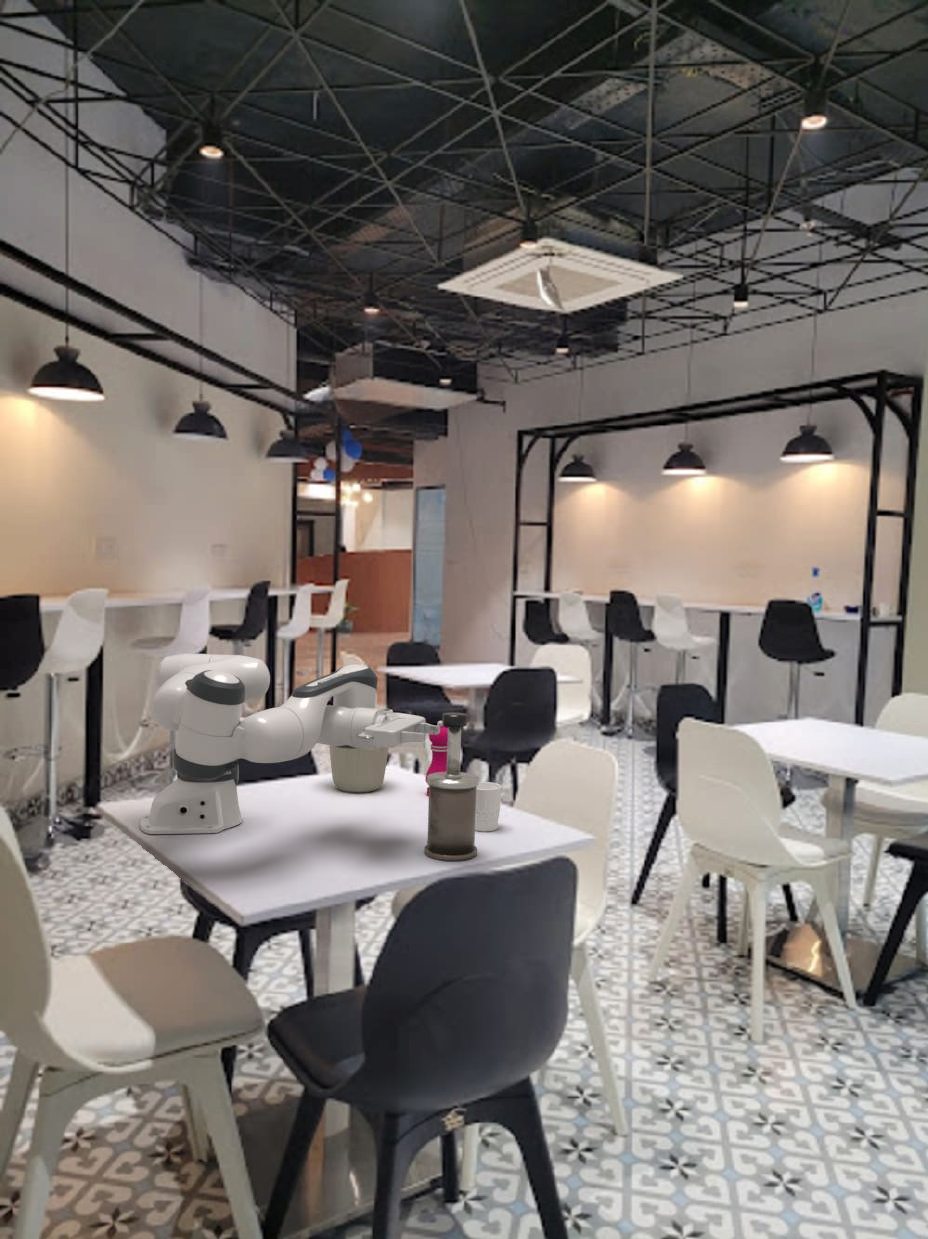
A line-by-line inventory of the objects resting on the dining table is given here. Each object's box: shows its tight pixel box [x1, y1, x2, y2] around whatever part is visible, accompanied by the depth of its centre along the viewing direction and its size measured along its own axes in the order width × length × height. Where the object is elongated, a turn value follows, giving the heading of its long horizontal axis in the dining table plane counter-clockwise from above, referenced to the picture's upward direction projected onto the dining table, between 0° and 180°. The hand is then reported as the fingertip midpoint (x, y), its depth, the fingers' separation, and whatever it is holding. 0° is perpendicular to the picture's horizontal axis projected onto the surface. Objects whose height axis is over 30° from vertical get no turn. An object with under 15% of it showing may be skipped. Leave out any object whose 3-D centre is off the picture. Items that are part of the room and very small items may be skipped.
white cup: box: [475, 781, 502, 832], centre depth 211 cm, size 8×8×10 cm
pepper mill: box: [425, 720, 448, 797], centre depth 241 cm, size 7×7×20 cm
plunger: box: [441, 712, 468, 775], centre depth 190 cm, size 5×5×13 cm
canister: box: [328, 745, 389, 793], centre depth 245 cm, size 18×18×21 cm
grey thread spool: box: [423, 771, 480, 862], centre depth 191 cm, size 11×11×17 cm
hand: (431, 733), depth 192 cm, fingers open, 8 cm apart
